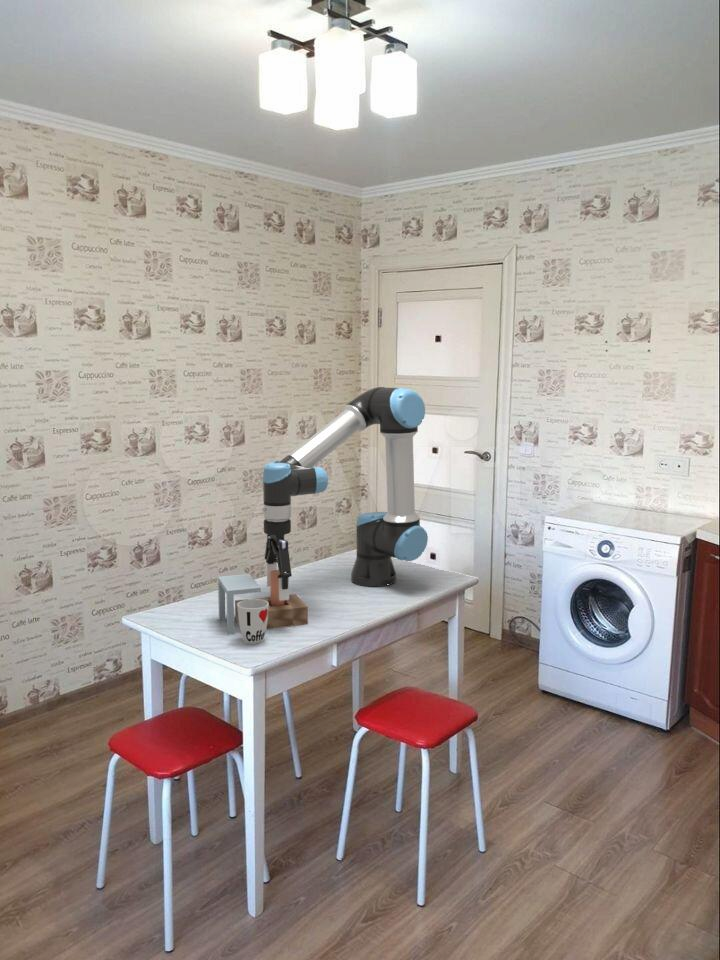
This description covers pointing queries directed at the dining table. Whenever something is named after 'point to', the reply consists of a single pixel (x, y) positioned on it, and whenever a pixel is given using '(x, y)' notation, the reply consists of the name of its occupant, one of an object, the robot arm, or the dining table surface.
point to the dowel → (275, 589)
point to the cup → (253, 619)
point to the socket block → (283, 612)
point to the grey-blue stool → (233, 587)
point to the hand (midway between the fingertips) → (277, 592)
